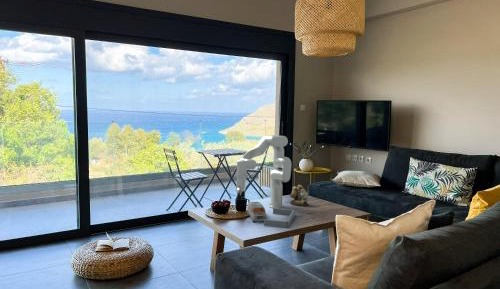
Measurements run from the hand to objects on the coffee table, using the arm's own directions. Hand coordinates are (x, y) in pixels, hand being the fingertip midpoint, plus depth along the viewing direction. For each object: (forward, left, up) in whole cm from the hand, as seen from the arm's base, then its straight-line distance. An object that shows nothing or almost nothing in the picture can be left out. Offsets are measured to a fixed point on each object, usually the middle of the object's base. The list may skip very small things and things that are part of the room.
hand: (241, 198), depth 280 cm
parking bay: (-1, +30, -14) cm, 33 cm away
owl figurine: (-49, +37, -14) cm, 64 cm away
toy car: (0, +13, -14) cm, 19 cm away
